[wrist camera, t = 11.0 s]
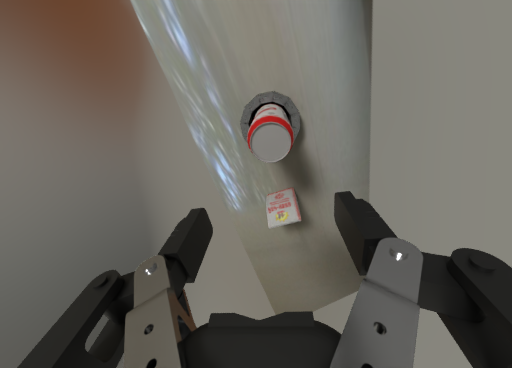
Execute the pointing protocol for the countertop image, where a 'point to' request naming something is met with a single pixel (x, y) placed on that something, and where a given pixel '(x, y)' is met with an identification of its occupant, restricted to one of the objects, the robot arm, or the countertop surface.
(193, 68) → the countertop surface
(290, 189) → the white printed box
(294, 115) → the collar
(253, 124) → the beer can
